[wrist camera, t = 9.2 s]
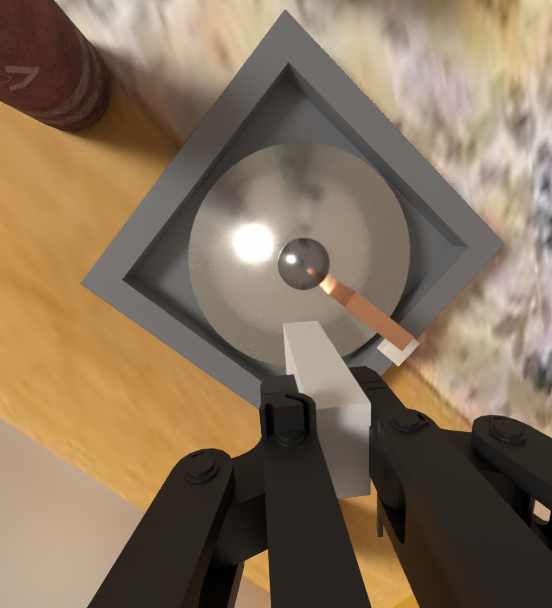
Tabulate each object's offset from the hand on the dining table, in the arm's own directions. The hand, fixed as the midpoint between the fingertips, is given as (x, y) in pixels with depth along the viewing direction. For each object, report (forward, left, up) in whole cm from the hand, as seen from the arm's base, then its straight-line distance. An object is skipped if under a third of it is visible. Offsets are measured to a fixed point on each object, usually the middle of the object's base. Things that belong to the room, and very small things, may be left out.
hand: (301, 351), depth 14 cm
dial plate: (-3, -1, -13) cm, 13 cm away
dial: (-3, -1, -12) cm, 12 cm away
